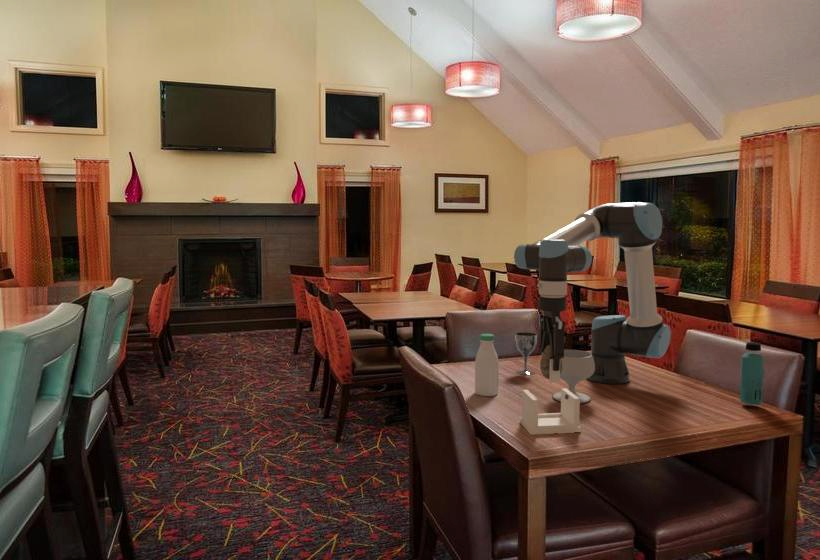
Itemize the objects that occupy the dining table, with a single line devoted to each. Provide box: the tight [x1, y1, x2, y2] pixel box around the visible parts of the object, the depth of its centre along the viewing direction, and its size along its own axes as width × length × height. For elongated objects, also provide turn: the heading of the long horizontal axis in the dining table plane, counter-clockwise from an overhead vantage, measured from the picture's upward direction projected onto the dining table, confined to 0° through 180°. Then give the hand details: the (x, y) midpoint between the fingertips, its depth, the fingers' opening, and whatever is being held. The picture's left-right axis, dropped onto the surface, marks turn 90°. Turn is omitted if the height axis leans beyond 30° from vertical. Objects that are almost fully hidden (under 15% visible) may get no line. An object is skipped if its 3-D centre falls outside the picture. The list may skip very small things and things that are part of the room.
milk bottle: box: [474, 333, 499, 397], centre depth 198 cm, size 8×8×20 cm
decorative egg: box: [539, 344, 562, 380], centre depth 165 cm, size 6×6×10 cm
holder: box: [519, 387, 582, 436], centre depth 166 cm, size 14×10×10 cm
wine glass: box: [514, 331, 538, 376], centre depth 225 cm, size 8×8×15 cm
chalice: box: [552, 349, 595, 404], centre depth 192 cm, size 14×14×15 cm
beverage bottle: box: [738, 341, 765, 406], centre depth 183 cm, size 6×7×20 cm
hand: (550, 378), depth 165 cm, fingers closed on decorative egg, 6 cm apart
